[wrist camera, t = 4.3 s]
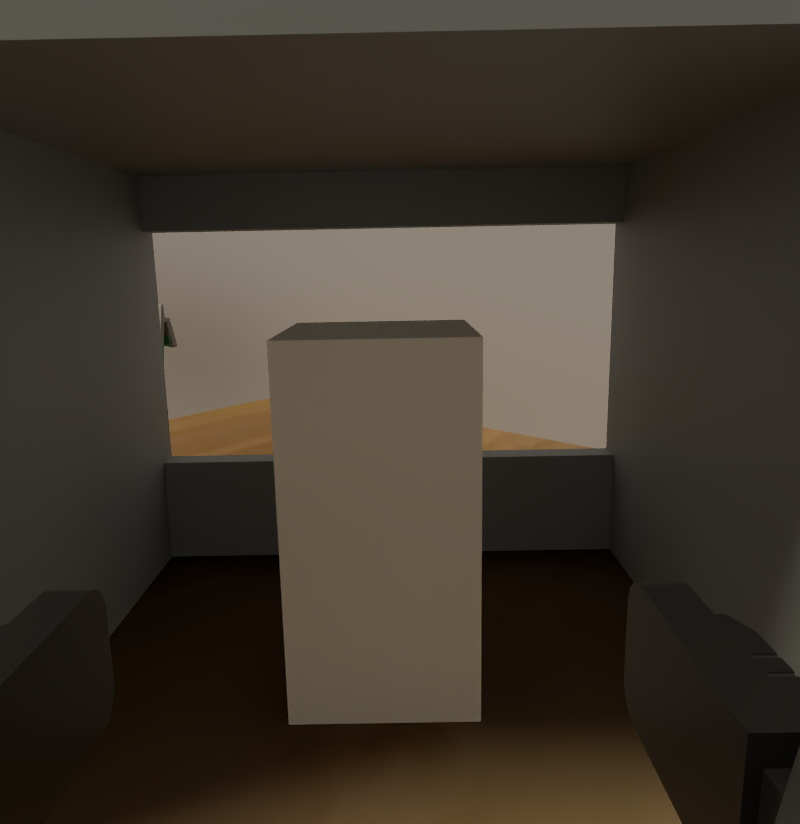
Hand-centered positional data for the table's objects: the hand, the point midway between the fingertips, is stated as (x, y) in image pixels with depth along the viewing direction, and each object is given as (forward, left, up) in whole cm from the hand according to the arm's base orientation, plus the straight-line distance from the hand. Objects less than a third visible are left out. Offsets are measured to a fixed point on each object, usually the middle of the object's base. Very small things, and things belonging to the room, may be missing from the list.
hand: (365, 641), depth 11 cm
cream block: (0, +9, -6) cm, 11 cm away
